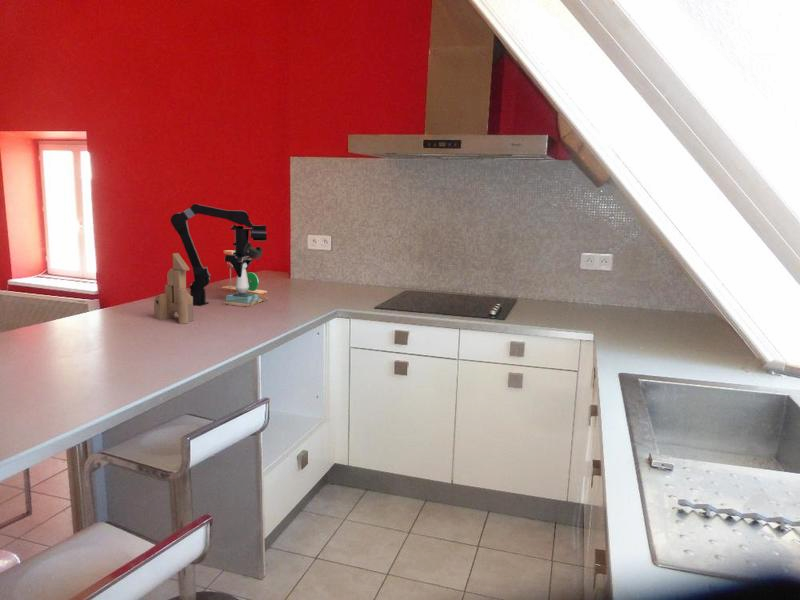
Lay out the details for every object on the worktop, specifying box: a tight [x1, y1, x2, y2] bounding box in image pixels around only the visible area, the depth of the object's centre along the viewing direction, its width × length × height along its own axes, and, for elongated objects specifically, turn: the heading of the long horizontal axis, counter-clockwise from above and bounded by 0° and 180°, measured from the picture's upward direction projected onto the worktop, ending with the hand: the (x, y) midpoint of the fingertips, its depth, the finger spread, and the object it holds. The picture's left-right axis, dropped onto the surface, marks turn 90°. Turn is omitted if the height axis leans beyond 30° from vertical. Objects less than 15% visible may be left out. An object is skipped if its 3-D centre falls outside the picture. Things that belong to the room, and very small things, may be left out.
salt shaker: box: [235, 263, 249, 293], centre depth 251 cm, size 6×6×13 cm
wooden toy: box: [153, 252, 194, 325], centre depth 215 cm, size 15×7×25 cm, turn 63°
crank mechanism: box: [221, 249, 268, 294], centre depth 280 cm, size 25×7×19 cm, turn 62°
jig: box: [222, 292, 269, 307], centre depth 255 cm, size 18×12×4 cm, turn 166°
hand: (242, 276), depth 251 cm, fingers closed on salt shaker, 3 cm apart
